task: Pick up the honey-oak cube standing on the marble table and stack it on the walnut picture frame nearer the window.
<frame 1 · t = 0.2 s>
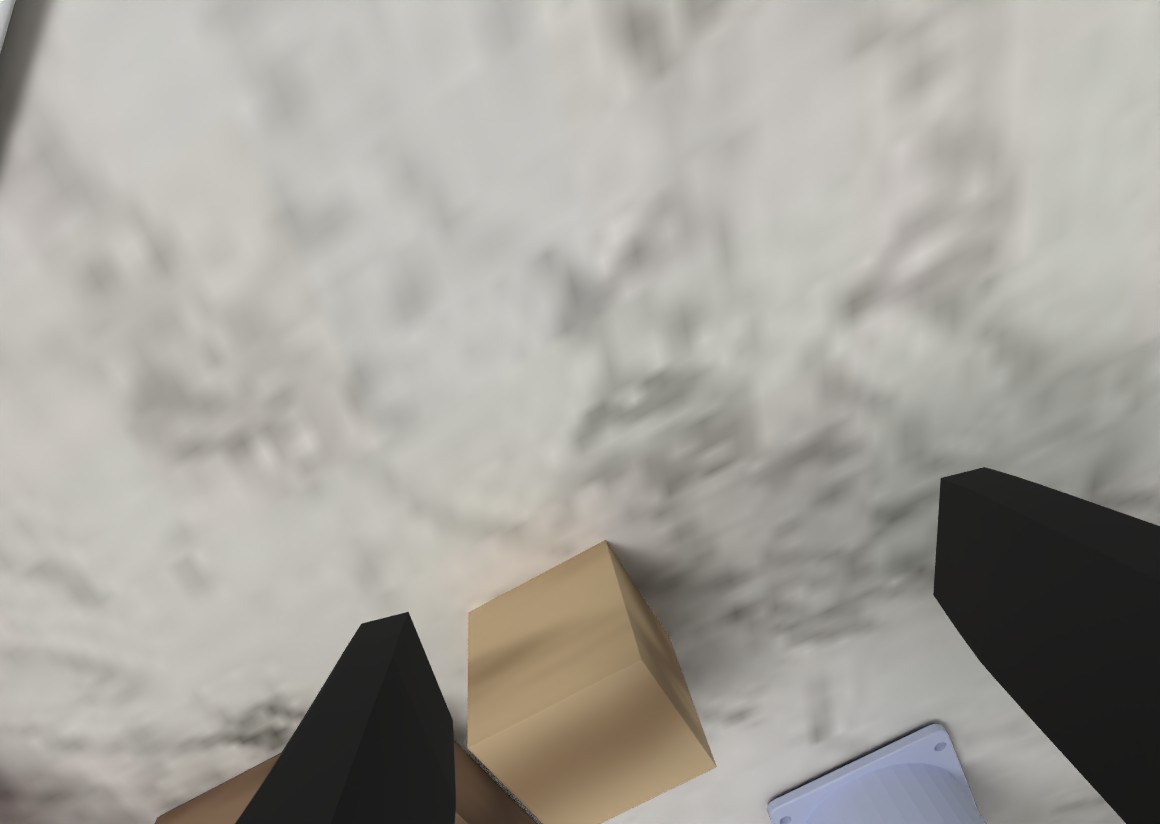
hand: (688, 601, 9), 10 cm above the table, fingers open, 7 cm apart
oak cube: (572, 624, 22), on the table
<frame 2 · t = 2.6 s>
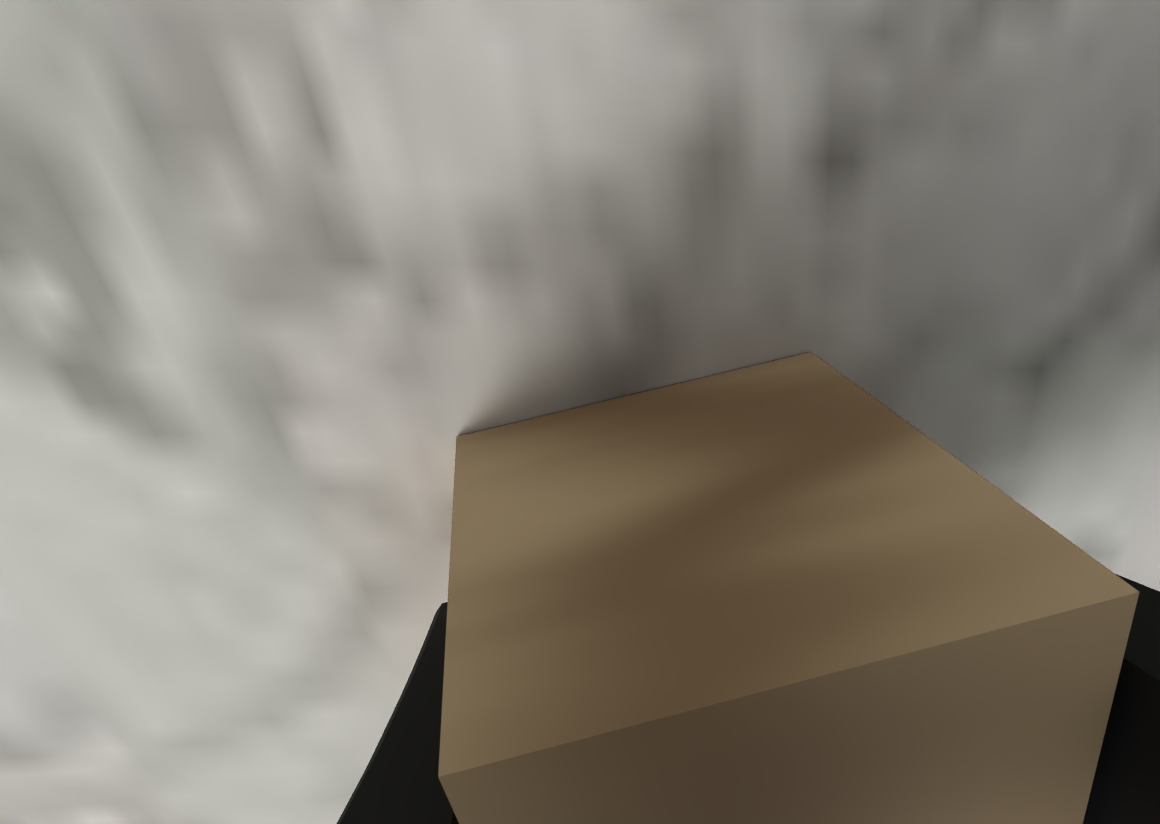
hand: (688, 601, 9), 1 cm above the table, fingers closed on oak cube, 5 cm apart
oak cube: (660, 538, 10), on the table, touching gripper
when the fingers open (5 cm above the table, at t = 5.8 s): oak cube stays where it is, resting on walnut picture frame.
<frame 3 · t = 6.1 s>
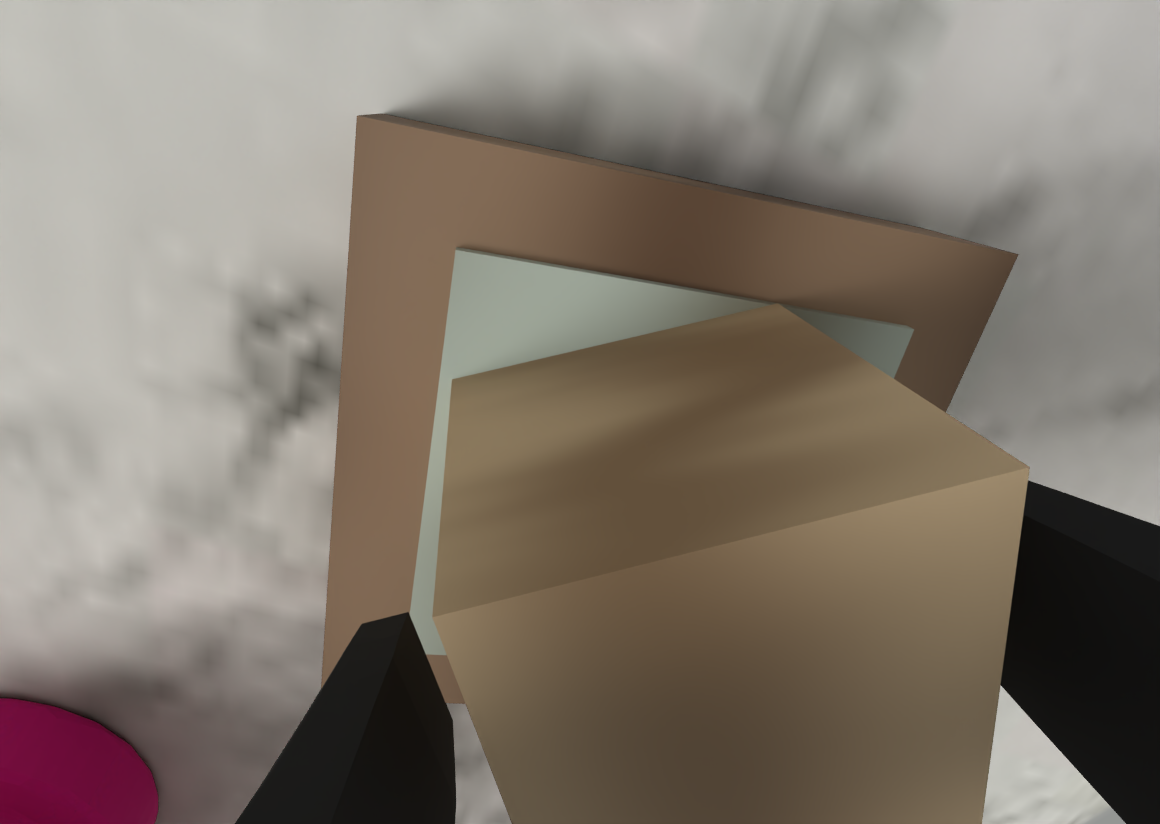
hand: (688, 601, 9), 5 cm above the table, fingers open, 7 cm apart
oak cube: (641, 480, 11), point 3 cm above the table, touching walnut picture frame
walnut picture frame: (614, 429, 13), on the table
pepper mill: (17, 783, 15), on the table
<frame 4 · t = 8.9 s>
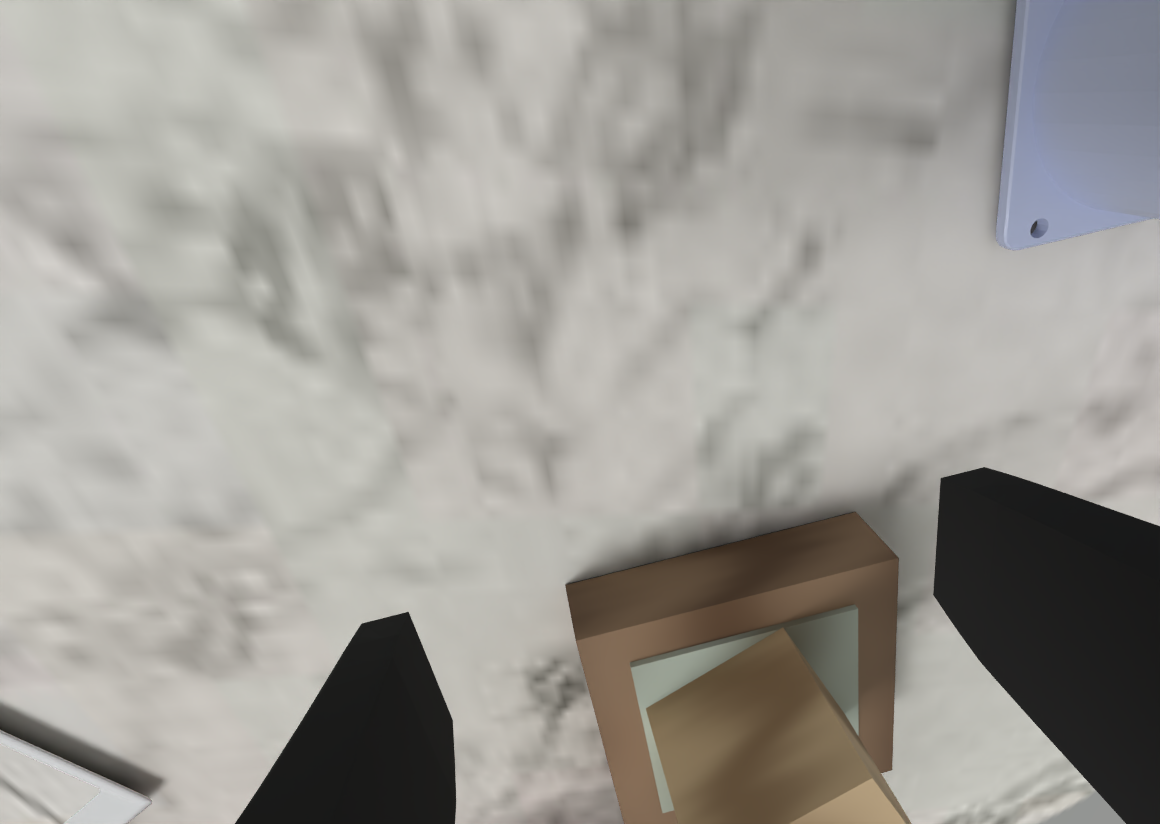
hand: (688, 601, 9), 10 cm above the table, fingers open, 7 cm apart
oak cube: (748, 711, 21), point 3 cm above the table, touching walnut picture frame
walnut picture frame: (725, 655, 24), on the table
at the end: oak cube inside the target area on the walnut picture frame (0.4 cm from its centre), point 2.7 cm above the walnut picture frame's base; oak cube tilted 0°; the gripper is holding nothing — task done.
